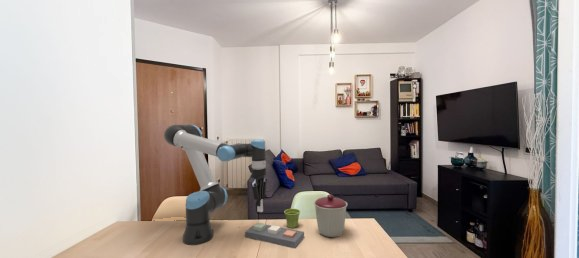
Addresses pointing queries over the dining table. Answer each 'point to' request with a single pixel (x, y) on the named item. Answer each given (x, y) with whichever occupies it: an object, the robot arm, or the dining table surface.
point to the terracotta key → (289, 233)
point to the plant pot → (292, 217)
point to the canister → (330, 215)
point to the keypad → (275, 236)
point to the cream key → (274, 229)
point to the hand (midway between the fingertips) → (260, 211)
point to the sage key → (259, 227)
